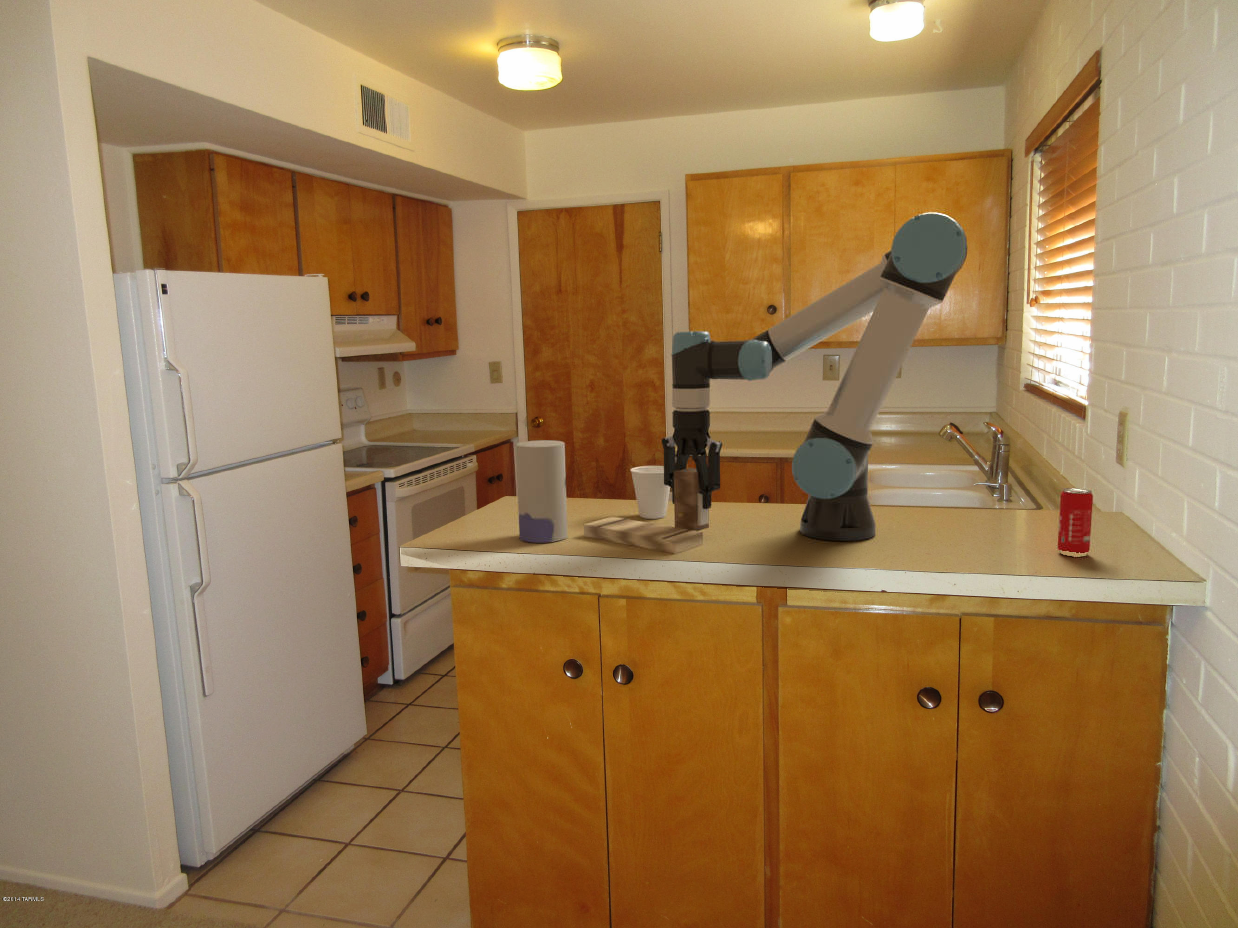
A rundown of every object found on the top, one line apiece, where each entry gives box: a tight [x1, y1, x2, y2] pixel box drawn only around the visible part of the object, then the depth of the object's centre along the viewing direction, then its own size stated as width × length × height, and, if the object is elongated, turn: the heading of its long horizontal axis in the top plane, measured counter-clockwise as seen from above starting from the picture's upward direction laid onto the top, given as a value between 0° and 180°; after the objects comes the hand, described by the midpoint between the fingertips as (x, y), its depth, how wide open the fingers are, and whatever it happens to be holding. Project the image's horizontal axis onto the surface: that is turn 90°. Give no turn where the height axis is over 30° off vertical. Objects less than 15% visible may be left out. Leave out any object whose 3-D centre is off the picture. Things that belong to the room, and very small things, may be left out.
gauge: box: [673, 467, 710, 532], centre depth 173 cm, size 5×6×12 cm
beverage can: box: [1057, 487, 1094, 553], centre depth 156 cm, size 5×5×12 cm
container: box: [515, 439, 568, 544], centre depth 176 cm, size 10×10×20 cm
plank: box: [583, 516, 704, 555], centre depth 174 cm, size 24×9×3 cm, turn 49°
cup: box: [630, 465, 671, 520], centre depth 195 cm, size 10×10×11 cm
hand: (691, 521), depth 175 cm, fingers closed on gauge, 5 cm apart
